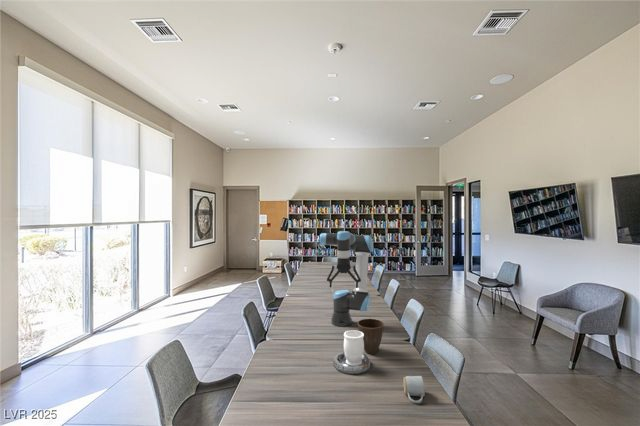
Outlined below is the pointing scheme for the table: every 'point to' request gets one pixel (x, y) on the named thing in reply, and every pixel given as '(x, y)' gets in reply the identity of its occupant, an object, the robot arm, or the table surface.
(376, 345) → the plant pot
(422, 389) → the ceramic mug
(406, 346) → the table surface
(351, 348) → the jar
